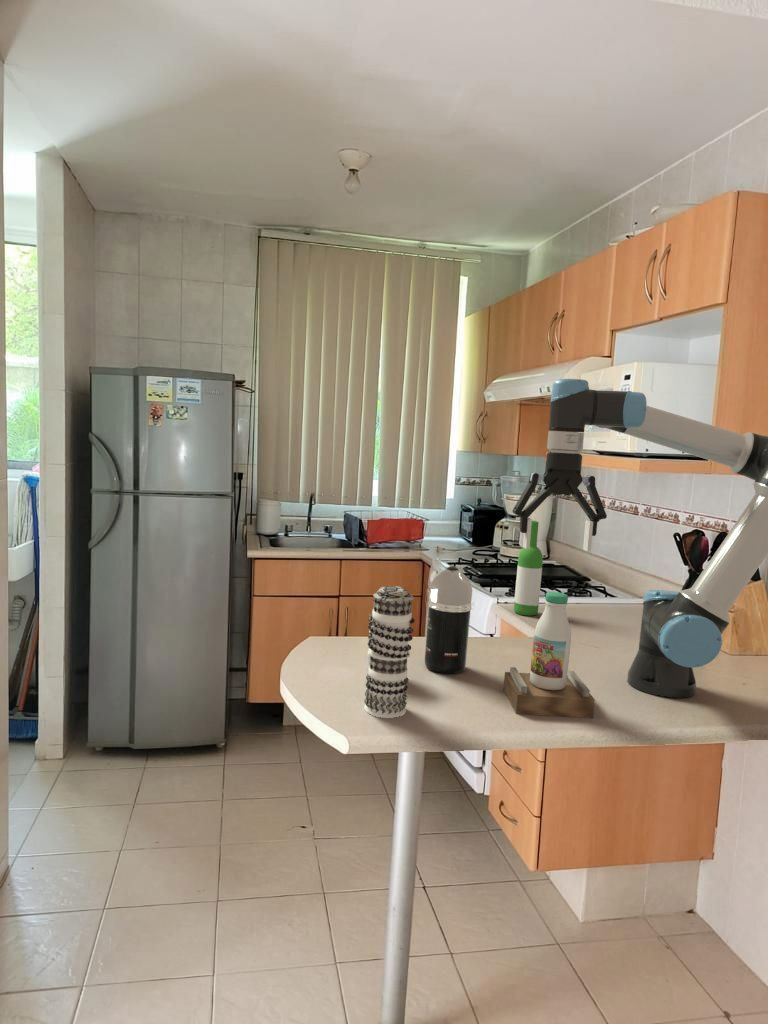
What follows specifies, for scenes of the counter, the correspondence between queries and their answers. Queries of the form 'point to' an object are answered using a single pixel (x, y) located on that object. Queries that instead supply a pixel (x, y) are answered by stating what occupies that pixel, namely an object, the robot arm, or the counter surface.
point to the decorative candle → (389, 652)
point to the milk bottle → (551, 645)
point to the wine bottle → (529, 576)
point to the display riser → (548, 696)
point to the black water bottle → (448, 622)
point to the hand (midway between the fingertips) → (556, 549)
